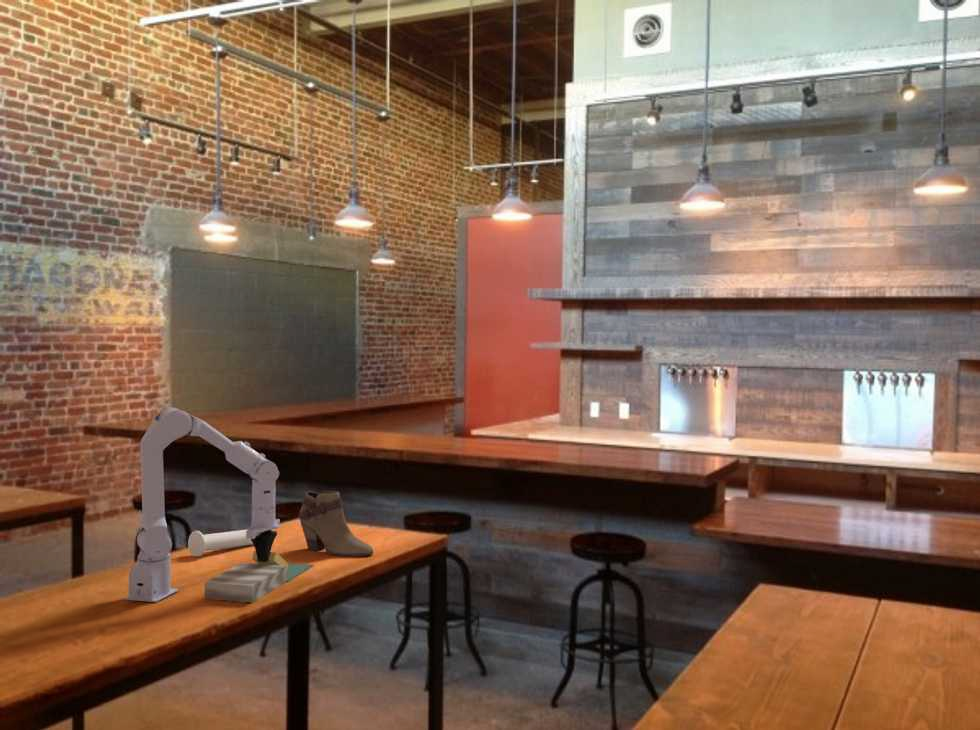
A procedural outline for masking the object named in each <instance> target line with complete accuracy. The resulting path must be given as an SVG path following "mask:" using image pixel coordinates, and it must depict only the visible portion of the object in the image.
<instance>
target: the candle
mask: <svg viewBox="0 0 980 730" xmlns="http://www.w3.org/2000/svg"><path fill="white" fill-rule="evenodd" d="M248 529H249V528H248ZM248 529H239V530H231V531H225V532H216V533H209V534H208V533H207V534H203V532H201V531H199V530H194V531H192V532H191V533H190V534H189V537H188V540H187V548H188V551H189V553H190V554H191V555H192V556H193V557H194V556H197V557H196V558H199V557H201V556H202V555H203V554H204V553H205V552H208V551H209V552H210V551H215V550H222V549H231V548H235V547H237V548H238V547H244V546H249V545H251V546H252V545H253V543H252V541H251V539H247V538H246V531H247V530H248Z"/></svg>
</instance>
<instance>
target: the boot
mask: <svg viewBox="0 0 980 730" xmlns="http://www.w3.org/2000/svg"><path fill="white" fill-rule="evenodd" d="M340 496H341V495H340V492H339V491H336V490H333V491H332V490H331V491H324V493H320V492H316V491H307V492H305V494H304V496H303V500H302V505H301V507H300V510H299V514H298V518H299V521H300V525H301V529H302V531H303V532H302V533H303V535H304V538H305V542H306V546H307V549H308V550H310V551H313V552H314V551H315V552H320V551H323V550H325V551H326V553H327V554H329V555H331V556H332V555H333V556H341V557H356V558H357V557H367V556H368V557H369V556H371V555H373V554H374V551H373V550H374V547H372V545H370V544H369V543H367V542H365V541H363V540H362V539H359V538H357V536H355V535H354V533H353V532H352V531H351V529H350V527H349V526H348V523H347V521H346V517H345V513H344V509H343V503H342V502H343V501H342V497H340Z"/></svg>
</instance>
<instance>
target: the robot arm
mask: <svg viewBox="0 0 980 730" xmlns="http://www.w3.org/2000/svg"><path fill="white" fill-rule="evenodd" d="M186 435H188V436H189V437H190V436H191V437H200V438H201V439H203V440H204V441H206V442H208V443H209V444H210V445H212V446H214V447H216V448H217V449H219V450H220V451H222V452H224V455H225V459H226V461H228V463H230V464H231V465H233V466H235V467H236V468H238V469H239V470H240V471H242V472H243V473H245V474H247V475H249V477H250V478H251V479H252V481H251V482H252V485H251V487H252V488H251V524H250V526H249V527H248V530H247V529H246V530H247V531H246V538H247V539H251V541H252V543H253V544H252V545H253V547H254V551H256V554H257V558H258V561H259V562H267V561H268V559H269V555H270V552H271V550H272V547H273V544H274V541H275V540H276V538H277V535H278V532H277V531H275V530H277V529H279V528H280V526H281V524H280V523H281V522H280V521H281V520H280V518H276V492H277V491H276V490H277V489H276V481H277V480H278V478H279V476H280V471H279V468H278V466H277V464H276V463H275V462H273V461H271V460H269V459H267V458H266V455H265V454H264V453H262V452H261V453H260V452H257V451H256V450H255V449H254V448H252V447H251V444H250V443H249V442H248V441H244V442H243V441H241V440H238V441H232V440H231V439H229V438H228V437H226V436H225V435H224V434H222V433H221V432H220V431H218V430H217V429H215V428H214V427H213V426H212V425H210V424H209V423H207V422H206V421H205V420H202V419H201V418H198V417H196V416H194V415H191V414H189V413H188V412H186V410H181V409H179V408H177V407H173V406H172V407H171V406H169V407H165V408H163V409H162V410H161V411H159V412H158V413H157V414H156V415H154V416H153V418H152V420H151V423H150V425H149V426H148V427H147V430H146V432H145V433H144V435H143V436H142V437H141V440H140V444H139V445H140V446H139V448H140V478H141V479H140V480H141V482H140V483H141V507H142V511H141V512H142V516H141V517H142V518H141V521H140V529H139V532H138V534H137V538H136V542H137V546H138V547H139V549H140V551H139V554H137V559H136V563H135V564H134V565H133V566H132V567H131V568H130V569H129V573H128V596H126V597H125V598H124V599H125V601H137V602H146V603H147V602H150V603H157V602H159V601H160V600H161V601H162V600H163V599H165V598H166V597H169V596H171V595H173V594H175V593H177V592H178V591H179V589H178V588H171V550H172V548H173V547H172V546H173V541H172V539H171V537H170V535H169V532H168V526H167V520H166V513H165V512H166V511H165V510H166V509H165V484H164V482H165V479H164V478H165V477H164V450H165V449H166V448H167V447H168V446H169V445H170V444H171V443H173V441H176V440H178V439H180V438H182V437H184V436H186Z"/></svg>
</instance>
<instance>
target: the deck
mask: <svg viewBox="0 0 980 730" xmlns="http://www.w3.org/2000/svg"><path fill="white" fill-rule="evenodd" d="M286 583H287V582H286V566H279V565H266V564H258V563H253V562H252V563H249V562H240V563H239V564H237V565H235V566H233V567H230V568H229V569H227V570H225V571H224V572H221V573H219V574H217V575H215V576H214V577H211V578H210V579H208V580H206V581H204V600H208V599H215V600H214V601H220V600H226V601H225V602H232V601H238V602H237V603H244V602H250V603H249V604H254V603H255V602H256V600H257V601H258V600H260V599H262V598H263V597H265V596H266V595H268V594H269V593H271V592H272V591H274V590H276V589H277V588H279V587H280V586H282V585H284V584H286ZM264 595H265V596H264ZM254 601H255V602H254Z"/></svg>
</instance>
